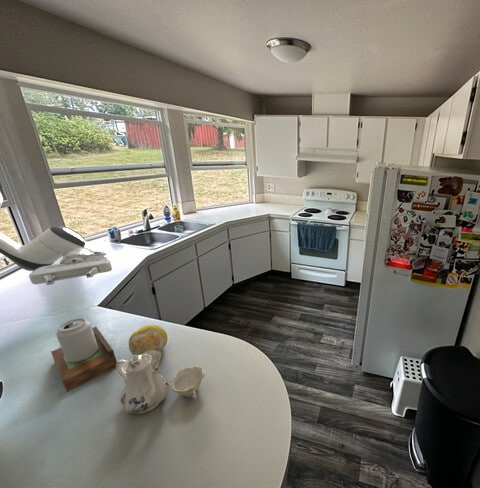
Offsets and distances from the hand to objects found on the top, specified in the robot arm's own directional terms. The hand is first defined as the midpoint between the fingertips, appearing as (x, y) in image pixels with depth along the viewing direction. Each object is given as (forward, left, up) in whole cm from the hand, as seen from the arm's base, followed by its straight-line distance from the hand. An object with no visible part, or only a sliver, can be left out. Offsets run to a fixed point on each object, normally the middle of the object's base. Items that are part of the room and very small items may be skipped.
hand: (69, 279), depth 81 cm
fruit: (+11, -22, -26) cm, 36 cm away
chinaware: (+6, -40, -26) cm, 48 cm away
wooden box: (-4, -11, -26) cm, 28 cm away
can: (-4, -11, -22) cm, 25 cm away
